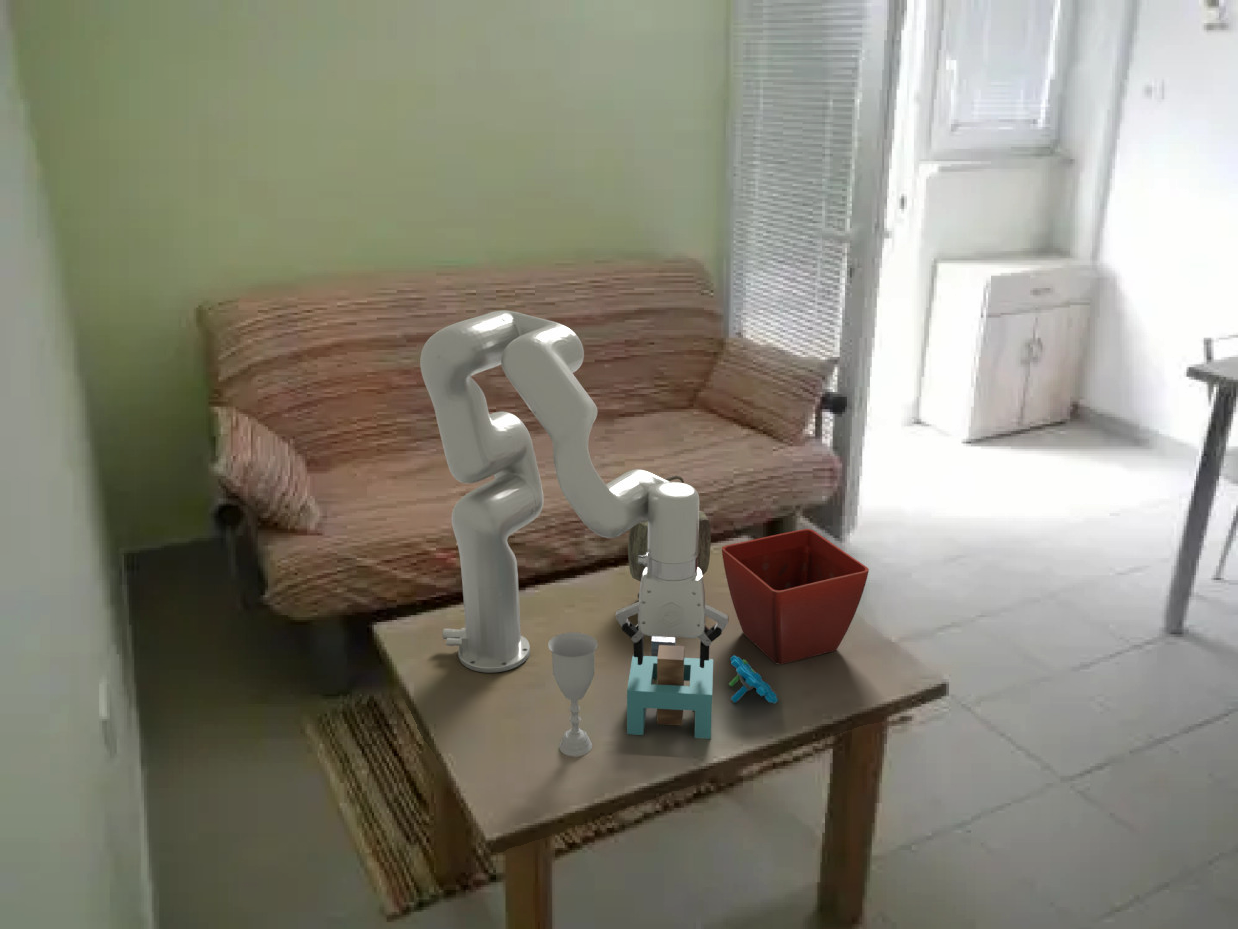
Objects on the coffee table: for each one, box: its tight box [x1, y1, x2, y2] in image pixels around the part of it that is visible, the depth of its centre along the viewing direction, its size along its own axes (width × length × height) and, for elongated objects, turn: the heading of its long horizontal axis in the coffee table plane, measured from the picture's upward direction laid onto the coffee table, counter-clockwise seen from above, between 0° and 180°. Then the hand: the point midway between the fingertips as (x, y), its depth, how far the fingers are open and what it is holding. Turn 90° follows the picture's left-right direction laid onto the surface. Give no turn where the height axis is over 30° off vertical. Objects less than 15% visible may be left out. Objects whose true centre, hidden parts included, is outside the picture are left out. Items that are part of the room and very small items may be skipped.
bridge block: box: [626, 654, 714, 739], centre depth 163 cm, size 13×10×8 cm
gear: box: [728, 654, 779, 705], centre depth 169 cm, size 11×6×10 cm
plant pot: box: [721, 528, 870, 665], centre depth 183 cm, size 19×19×17 cm
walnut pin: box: [656, 645, 685, 726], centre depth 163 cm, size 4×4×12 cm
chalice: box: [547, 631, 599, 757], centre depth 155 cm, size 7×7×18 cm
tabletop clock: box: [627, 475, 712, 599], centre depth 198 cm, size 14×9×25 cm, turn 133°
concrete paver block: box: [650, 636, 677, 657], centre depth 178 cm, size 4×4×6 cm
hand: (671, 661), depth 161 cm, fingers open, 9 cm apart
